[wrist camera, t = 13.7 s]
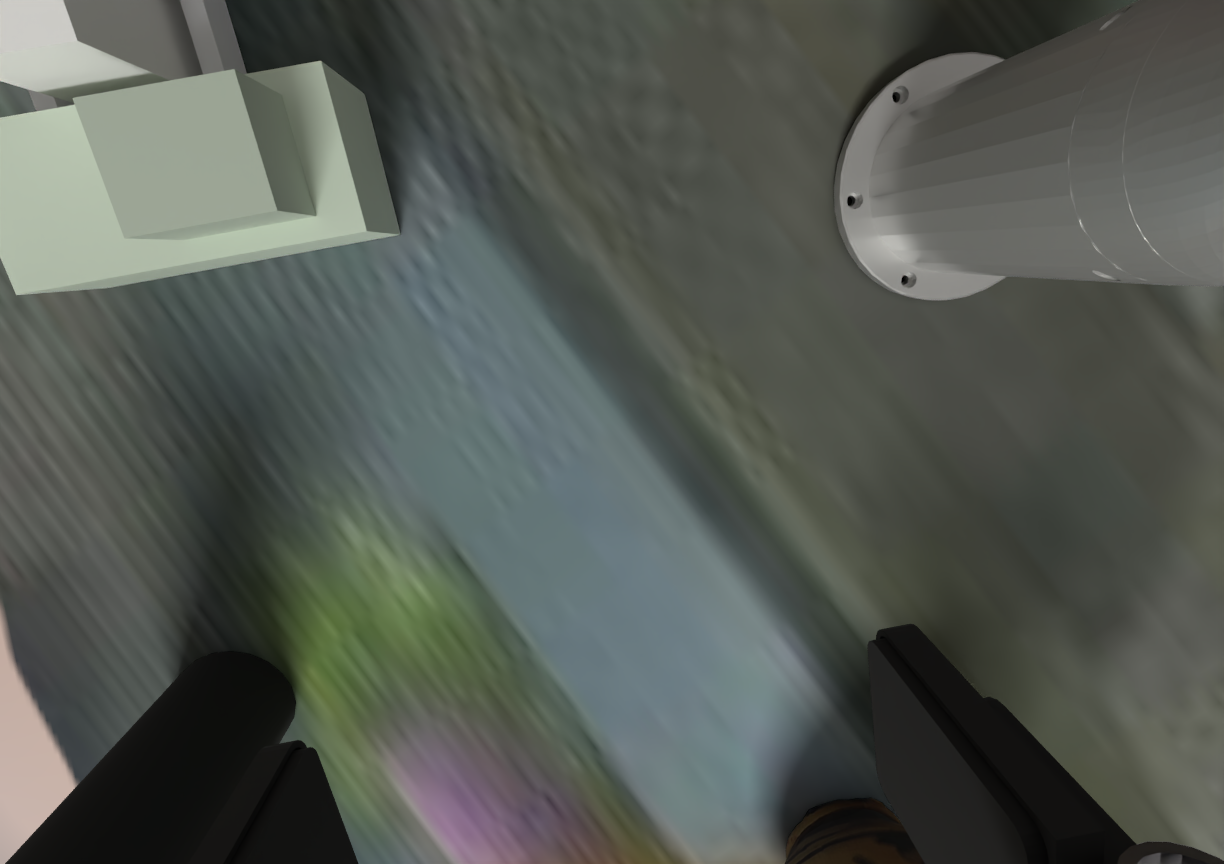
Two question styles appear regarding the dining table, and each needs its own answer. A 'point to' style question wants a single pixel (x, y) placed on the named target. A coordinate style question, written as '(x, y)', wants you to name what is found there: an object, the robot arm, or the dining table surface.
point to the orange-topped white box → (93, 45)
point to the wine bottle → (170, 769)
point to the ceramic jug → (851, 836)
